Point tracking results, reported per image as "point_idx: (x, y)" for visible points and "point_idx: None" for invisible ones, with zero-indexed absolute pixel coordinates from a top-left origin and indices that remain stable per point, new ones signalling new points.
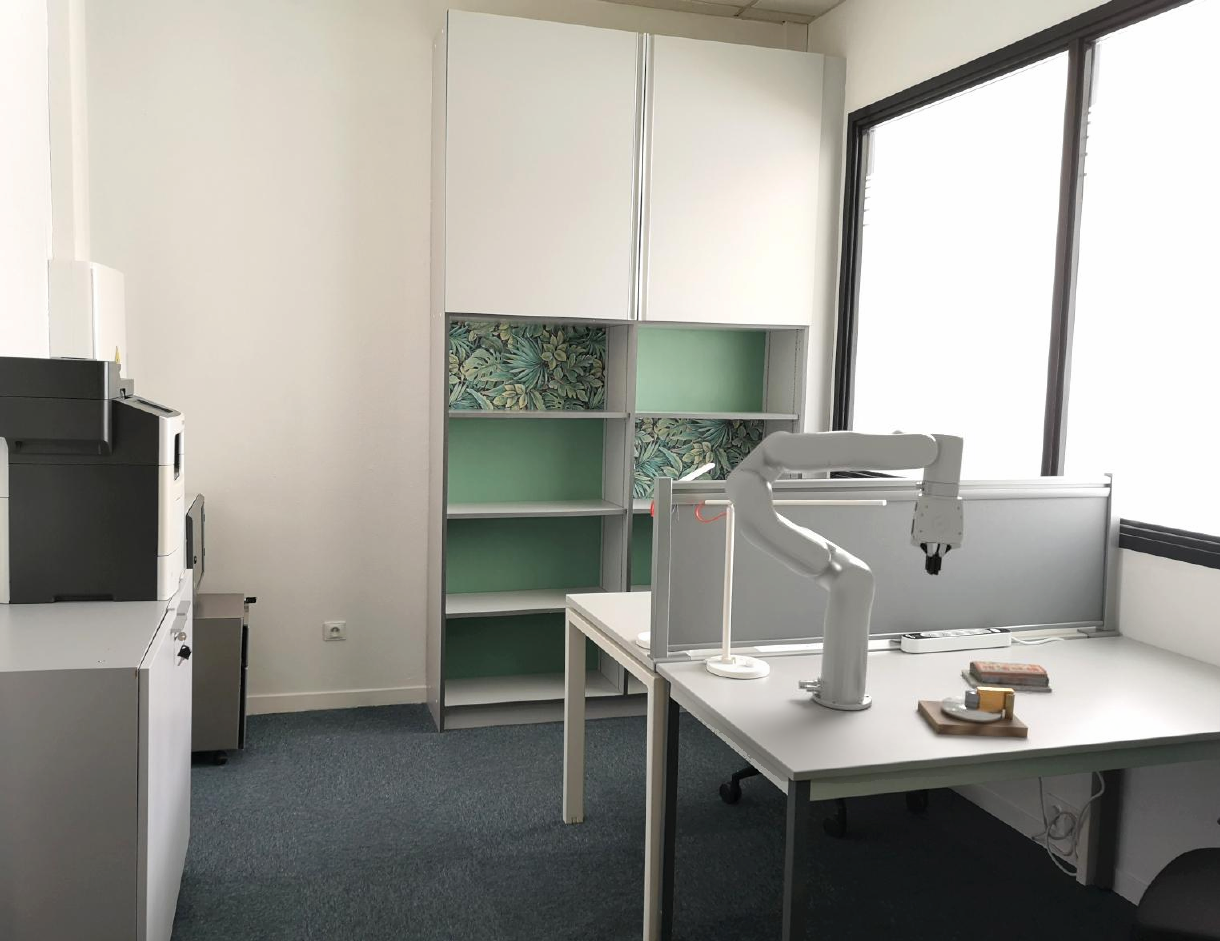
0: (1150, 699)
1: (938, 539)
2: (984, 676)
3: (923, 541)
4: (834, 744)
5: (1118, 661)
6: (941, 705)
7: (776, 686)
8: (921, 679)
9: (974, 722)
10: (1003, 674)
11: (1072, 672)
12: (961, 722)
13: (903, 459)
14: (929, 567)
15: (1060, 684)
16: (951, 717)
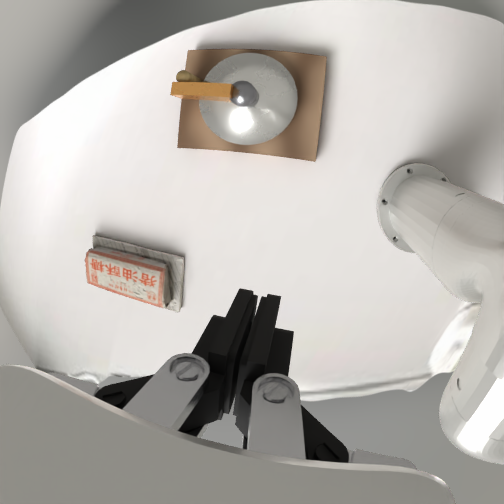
0: (27, 211)
1: (195, 475)
2: (160, 265)
3: (388, 468)
4: (470, 57)
5: (35, 316)
6: (294, 113)
7: None
8: None
9: None
10: (134, 261)
11: (66, 296)
12: (283, 61)
13: None
14: (278, 333)
15: (81, 260)
16: None
